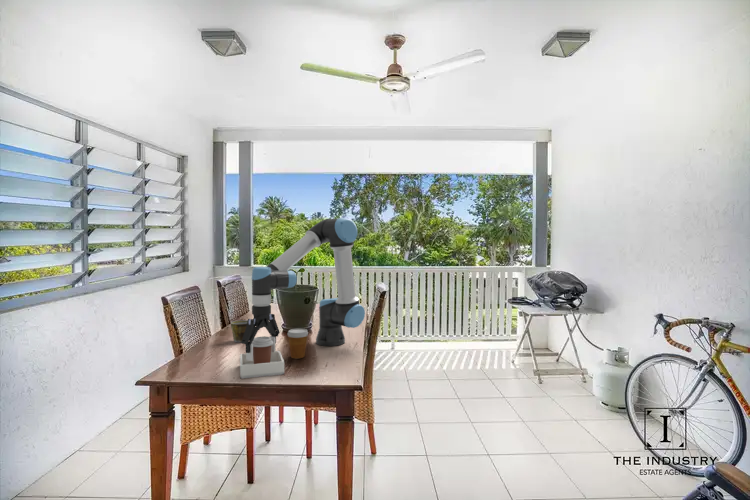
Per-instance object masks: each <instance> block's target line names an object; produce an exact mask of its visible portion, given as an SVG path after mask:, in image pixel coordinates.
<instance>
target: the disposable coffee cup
mask: <svg viewBox="0 0 750 500" xmlns="http://www.w3.org/2000/svg"><path fill="white" fill-rule="evenodd" d="M308 331H309V330H308V329H307V328H306V329H305V328H292V329H289V330H288V331H287V335H286V336H287V337H288V343H289V344H288V345H289V353H290V358H291V359H294V360H295V359H296V360H297V359H303V358H305V356H306V348H307V340H308V335H309V332H308Z"/></svg>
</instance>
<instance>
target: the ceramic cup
mask: <svg viewBox="0 0 750 500" xmlns="http://www.w3.org/2000/svg"><path fill="white" fill-rule="evenodd" d="M247 320H248V319H247ZM247 320H246V319H244V320H242V319H241V320H234V321H231V322H230V329H231V333H232V337H233V341H234V342H235V343H241V341H242V338H243V335H244V332H245V329H246V326H247ZM245 341H246V340H245Z"/></svg>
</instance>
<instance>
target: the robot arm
mask: <svg viewBox="0 0 750 500" xmlns="http://www.w3.org/2000/svg"><path fill="white" fill-rule="evenodd" d="M357 227H358V226H357V225H356V223H355V222H354V221H353V220H352V219H350V218H346V217H345V218H344V217H340V218H325V219H322V220H320V221H319V222H318V223H316V224H314V225H313V226H311V228H309V229H308V230H307V231H306V232H305V235H304V236H303V237H301V238H300V239H299V240H297V241H296V242H295V243H294V244H293V245H291V246H290V247H289V248H288V249H286V250H285V251H284V252H283V253H282V254H281V255H279V256H278V257H277V258H276V259H274V260H273V261H272V262H270V263H269V264H268V265H267V266H256V267H253V268H252V272H251V273H252V274H251V304H252V305H251V314H252V315H253V317H252V318H247V326H246V329H245V332H244V335H243V338H242V341H241V342H240V343H241V344H242V345H245V354H246V360H248V361H253V344H251V343H252V341H253V340H254V338H256V336H257V333H258V332H259V330H261V329H262V328H265V329H266V331H267V332H268V333H269V335H270V336H269V337H270V338H271V340H272V341H273V345H272V349H271V352H275V351H276V344H277V337H279V335H280V329H279V327H278V326H279V325H278V324H277V321H276V315H275V314H273V313H272V305H271V304H272V290H280V289H291V288H294V287H295V286H296V284H297V280H298V279H297V278H298V277H297V274H296V272H295V271H293V270H290V269H291V268H292V267H293V266H295V265H296V264H297V263H298V262H299V261H300V260H301V259H303V258H304V257H305V256H307V254H309V253H310V252H311V251H312V250H314V248H319V247H320V246H322V245H324V244H325V243H329V248H331V250H333V257H334V268H335V269H334V270H335V279H336V289H337V297H335V298H325V299H324V298H323V299H321V300H320V301H319V307H318V310H319V312H318V313H319V314H318V317H319V321H318V323H319V324H318V325H319V326H318V327H319V328H318V331H317V334H316V337H315V344H316V345H318V346H323V347H337V346H342V345H344V344H345V343H346V337H345V334H344V331H343V327H345V328H352V329H355V328H357V327H359V326H360V325H361V324H362V322H363V321H364V319H365V315H366V311H365V308H364V306H363V305H362V304H360V299H359V297H358V296H356V287H355V278H354V277H355V276H354V275H355V274H354V266H353V265H354V264H353V255H352V248H353V246H354V245H355V244H354V242H355V241H356V239H357V237H358V228H357ZM245 340H246V341H245Z"/></svg>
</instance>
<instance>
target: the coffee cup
mask: <svg viewBox="0 0 750 500" xmlns="http://www.w3.org/2000/svg"><path fill="white" fill-rule="evenodd" d="M251 344H253V361H254V364H259V363H270V361H271V349H272V345H273V341H272V340H271V338H270V336H263V335H262V336H257V337H256V336H255V338H254V340H253V341H252V343H251Z"/></svg>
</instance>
